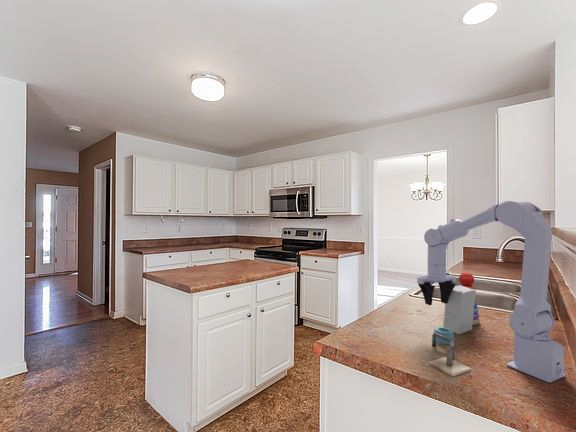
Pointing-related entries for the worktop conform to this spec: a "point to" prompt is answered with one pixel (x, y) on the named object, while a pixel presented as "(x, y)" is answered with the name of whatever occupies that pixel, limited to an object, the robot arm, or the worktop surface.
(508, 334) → the worktop surface
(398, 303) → the worktop surface
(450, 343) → the handle
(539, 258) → the robot arm
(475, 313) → the stacking toy
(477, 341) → the worktop surface
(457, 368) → the peg stand
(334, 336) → the worktop surface
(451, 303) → the skincare box
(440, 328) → the ring
